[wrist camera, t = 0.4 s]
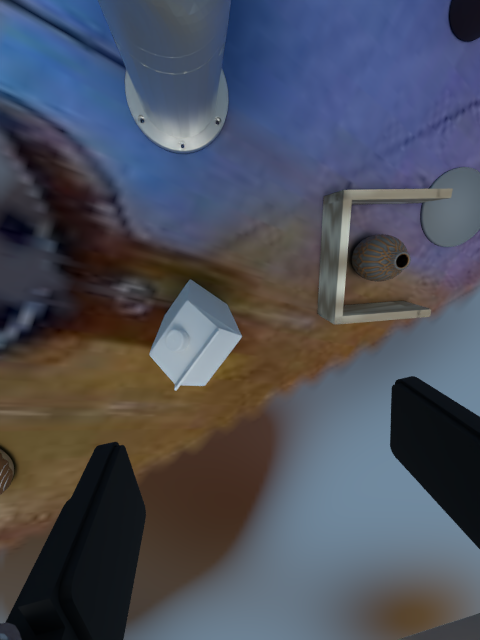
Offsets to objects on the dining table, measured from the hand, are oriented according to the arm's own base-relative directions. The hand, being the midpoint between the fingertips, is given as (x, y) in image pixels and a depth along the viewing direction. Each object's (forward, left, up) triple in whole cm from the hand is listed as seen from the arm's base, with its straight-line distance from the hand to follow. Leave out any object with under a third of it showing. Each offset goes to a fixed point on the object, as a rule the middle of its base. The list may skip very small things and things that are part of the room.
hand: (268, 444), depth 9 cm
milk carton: (+4, -3, -35) cm, 36 cm away
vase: (-3, +25, -35) cm, 43 cm away
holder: (-3, +25, -35) cm, 43 cm away
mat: (-10, +40, -35) cm, 54 cm away
